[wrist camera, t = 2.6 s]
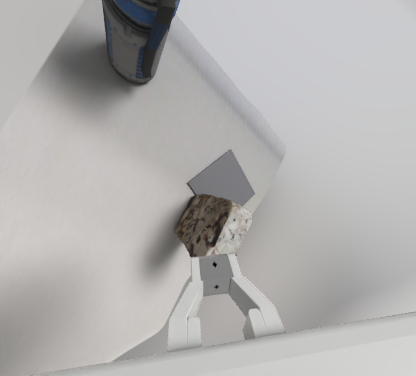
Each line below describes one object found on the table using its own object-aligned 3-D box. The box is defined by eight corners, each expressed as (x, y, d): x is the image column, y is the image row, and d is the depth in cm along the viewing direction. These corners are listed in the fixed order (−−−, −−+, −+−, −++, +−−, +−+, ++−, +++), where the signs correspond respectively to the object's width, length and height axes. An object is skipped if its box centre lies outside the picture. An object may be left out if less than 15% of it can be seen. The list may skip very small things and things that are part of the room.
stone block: (192, 239, 47) (230, 279, 29) (170, 232, 44) (198, 271, 26) (210, 198, 49) (257, 211, 31) (191, 188, 46) (230, 197, 28)
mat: (219, 228, 51) (220, 228, 51) (187, 182, 46) (188, 182, 45) (253, 193, 58) (255, 193, 57) (229, 149, 52) (231, 149, 52)
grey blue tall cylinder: (123, 98, 37) (125, -19, 15) (98, 34, 35) (58, -218, 13) (164, 94, 42) (212, -3, 20) (145, 36, 39) (175, -150, 17)
